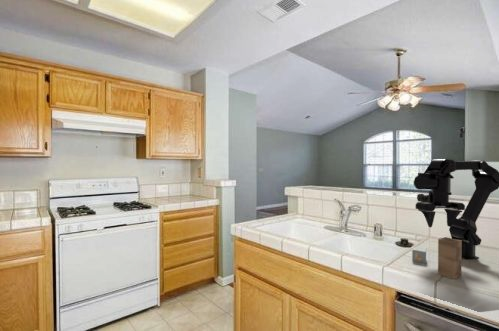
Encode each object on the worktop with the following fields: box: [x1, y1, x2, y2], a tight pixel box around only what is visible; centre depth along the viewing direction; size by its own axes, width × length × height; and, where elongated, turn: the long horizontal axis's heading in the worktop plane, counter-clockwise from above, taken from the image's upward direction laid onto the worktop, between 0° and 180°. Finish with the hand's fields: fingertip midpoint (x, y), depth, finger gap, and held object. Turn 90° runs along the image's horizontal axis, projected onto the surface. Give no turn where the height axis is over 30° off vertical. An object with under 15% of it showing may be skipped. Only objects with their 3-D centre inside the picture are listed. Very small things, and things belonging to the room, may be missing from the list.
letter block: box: [411, 246, 427, 264], centre depth 108 cm, size 5×4×4 cm
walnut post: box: [437, 237, 463, 280], centre depth 94 cm, size 5×5×12 cm
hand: (439, 226), depth 111 cm, fingers open, 9 cm apart
